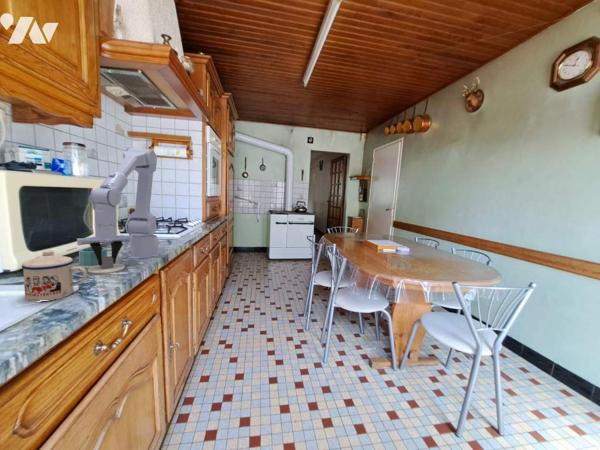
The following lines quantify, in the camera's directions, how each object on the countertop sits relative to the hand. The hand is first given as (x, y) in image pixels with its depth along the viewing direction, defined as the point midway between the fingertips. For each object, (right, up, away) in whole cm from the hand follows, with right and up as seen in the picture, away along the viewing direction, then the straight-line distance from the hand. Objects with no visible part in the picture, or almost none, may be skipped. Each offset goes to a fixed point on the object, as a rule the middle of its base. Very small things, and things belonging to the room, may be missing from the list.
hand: (106, 264), depth 84 cm
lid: (0, -2, 0) cm, 2 cm away
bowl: (-10, -1, +6) cm, 11 cm away
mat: (0, -2, 0) cm, 2 cm away
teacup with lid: (+4, -5, -21) cm, 22 cm away
